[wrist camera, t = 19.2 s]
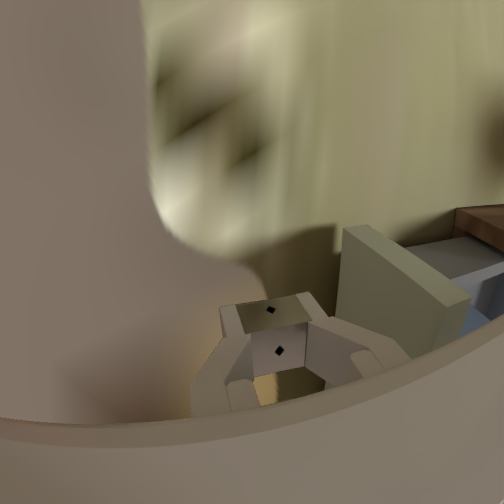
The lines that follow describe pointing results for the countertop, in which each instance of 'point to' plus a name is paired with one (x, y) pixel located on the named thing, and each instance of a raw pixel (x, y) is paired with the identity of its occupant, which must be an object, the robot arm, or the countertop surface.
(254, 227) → the countertop surface
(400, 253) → the tray
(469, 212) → the box
